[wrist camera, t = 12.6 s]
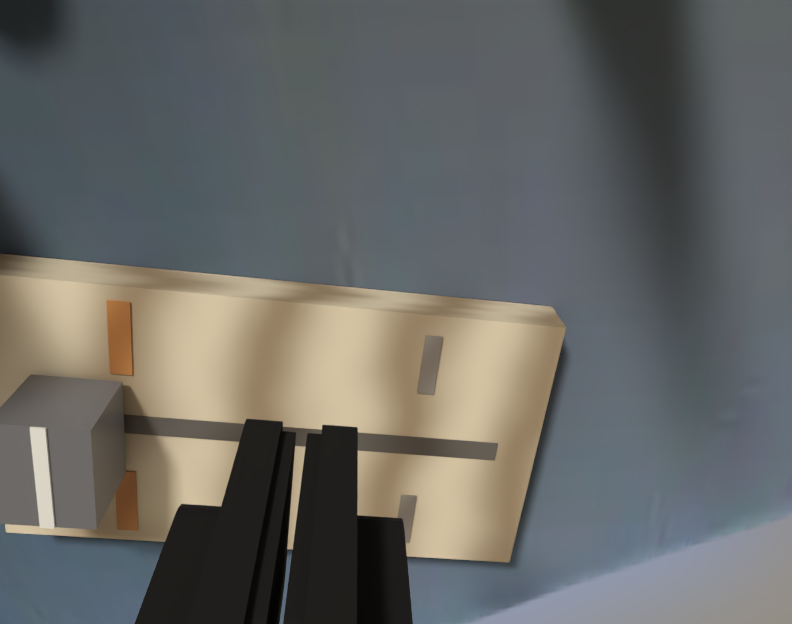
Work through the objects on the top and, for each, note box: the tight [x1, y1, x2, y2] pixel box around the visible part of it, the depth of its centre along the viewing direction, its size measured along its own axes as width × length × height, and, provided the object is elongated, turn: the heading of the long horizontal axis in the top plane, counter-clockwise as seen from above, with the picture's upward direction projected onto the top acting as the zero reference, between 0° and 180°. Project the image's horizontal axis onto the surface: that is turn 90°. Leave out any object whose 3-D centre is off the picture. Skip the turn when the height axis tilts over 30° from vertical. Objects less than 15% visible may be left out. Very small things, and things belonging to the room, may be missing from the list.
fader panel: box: [0, 254, 566, 562], centre depth 34 cm, size 26×14×3 cm, turn 83°
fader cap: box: [0, 374, 126, 530], centre depth 30 cm, size 4×5×4 cm
